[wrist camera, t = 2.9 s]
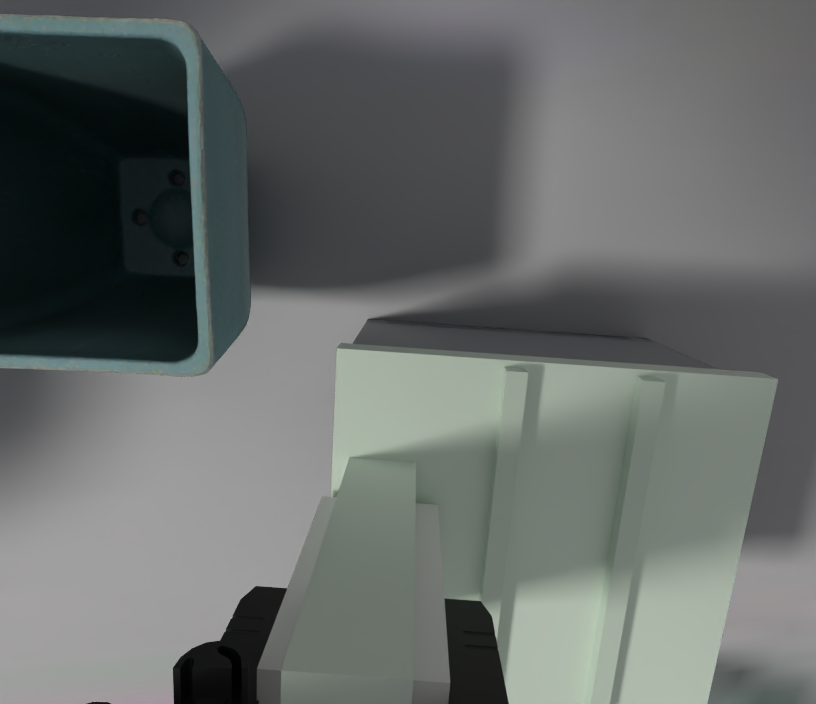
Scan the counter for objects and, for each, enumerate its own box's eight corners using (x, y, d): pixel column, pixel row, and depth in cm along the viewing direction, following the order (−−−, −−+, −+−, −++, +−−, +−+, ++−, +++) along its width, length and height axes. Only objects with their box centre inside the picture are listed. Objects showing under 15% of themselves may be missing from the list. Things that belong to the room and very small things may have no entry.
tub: (356, 548, 25) (332, 664, 18) (367, 319, 23) (346, 353, 16) (608, 566, 25) (680, 689, 18) (645, 338, 23) (744, 380, 16)
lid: (330, 653, 19) (246, 1053, 10) (344, 338, 17) (249, 464, 7) (680, 679, 19) (935, 1106, 10) (745, 366, 17) (1167, 529, 7)
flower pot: (288, 108, 21) (197, 15, 12) (290, 326, 23) (212, 379, 14) (70, 100, 21) (-175, 3, 12) (89, 318, 23) (-112, 366, 14)
